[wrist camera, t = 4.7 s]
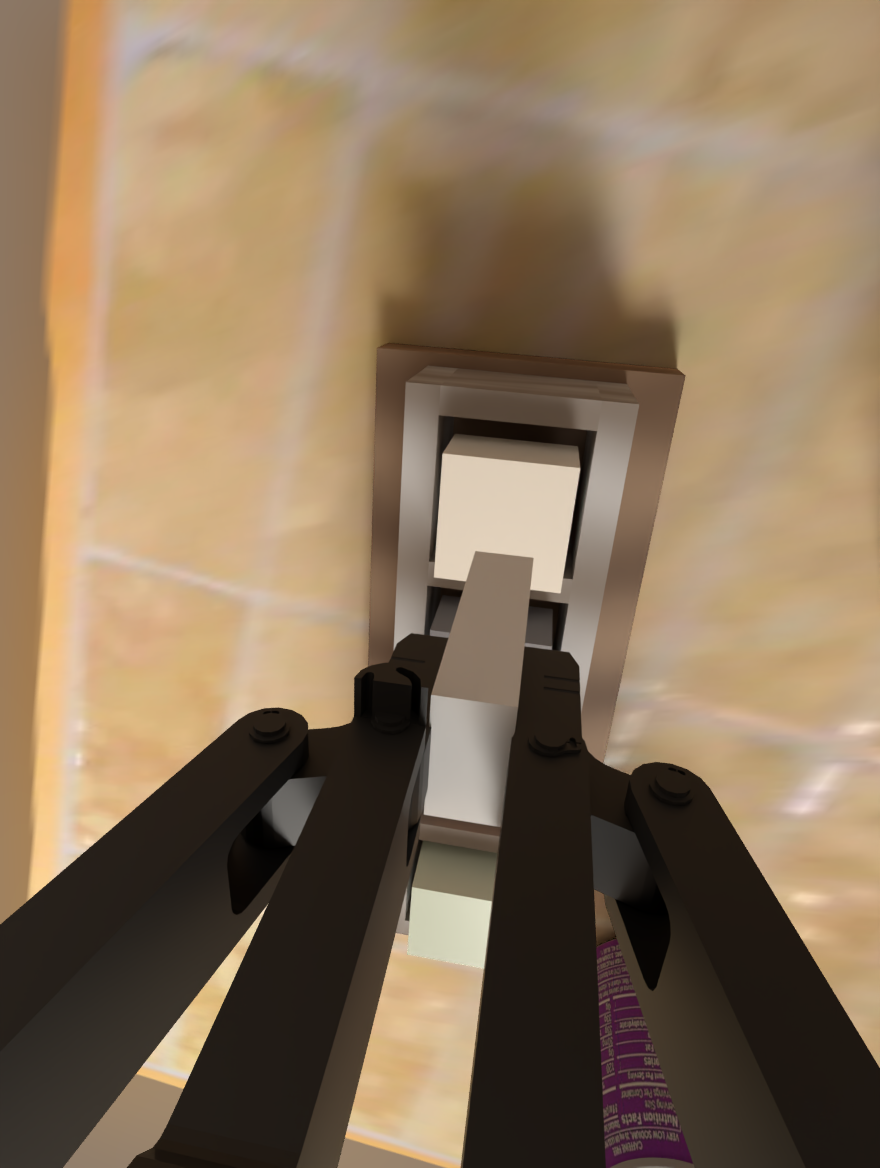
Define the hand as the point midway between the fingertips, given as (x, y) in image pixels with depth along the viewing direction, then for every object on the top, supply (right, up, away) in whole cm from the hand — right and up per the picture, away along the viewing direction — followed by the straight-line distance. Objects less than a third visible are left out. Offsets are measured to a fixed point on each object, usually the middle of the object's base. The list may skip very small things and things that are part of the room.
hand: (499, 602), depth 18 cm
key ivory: (+1, +4, +8) cm, 8 cm away
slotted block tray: (+1, -3, +17) cm, 17 cm away
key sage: (0, -14, +16) cm, 21 cm away
